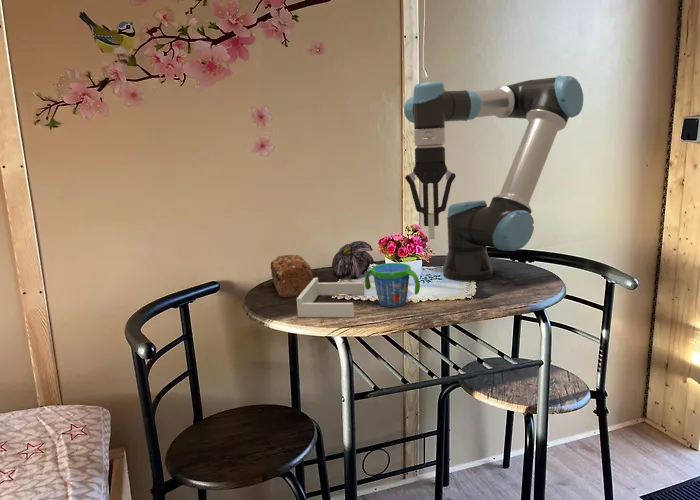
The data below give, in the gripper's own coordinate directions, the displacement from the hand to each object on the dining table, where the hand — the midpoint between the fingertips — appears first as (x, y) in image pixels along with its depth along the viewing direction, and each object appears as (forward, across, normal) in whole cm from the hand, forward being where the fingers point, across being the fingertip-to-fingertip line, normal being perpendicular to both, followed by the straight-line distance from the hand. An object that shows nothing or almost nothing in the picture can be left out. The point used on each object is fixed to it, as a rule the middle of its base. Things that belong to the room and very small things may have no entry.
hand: (431, 238), depth 143 cm
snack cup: (+18, -11, 0) cm, 21 cm away
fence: (+18, -27, -1) cm, 32 cm away
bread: (+18, -43, +15) cm, 49 cm away
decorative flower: (+18, -27, +30) cm, 44 cm away
